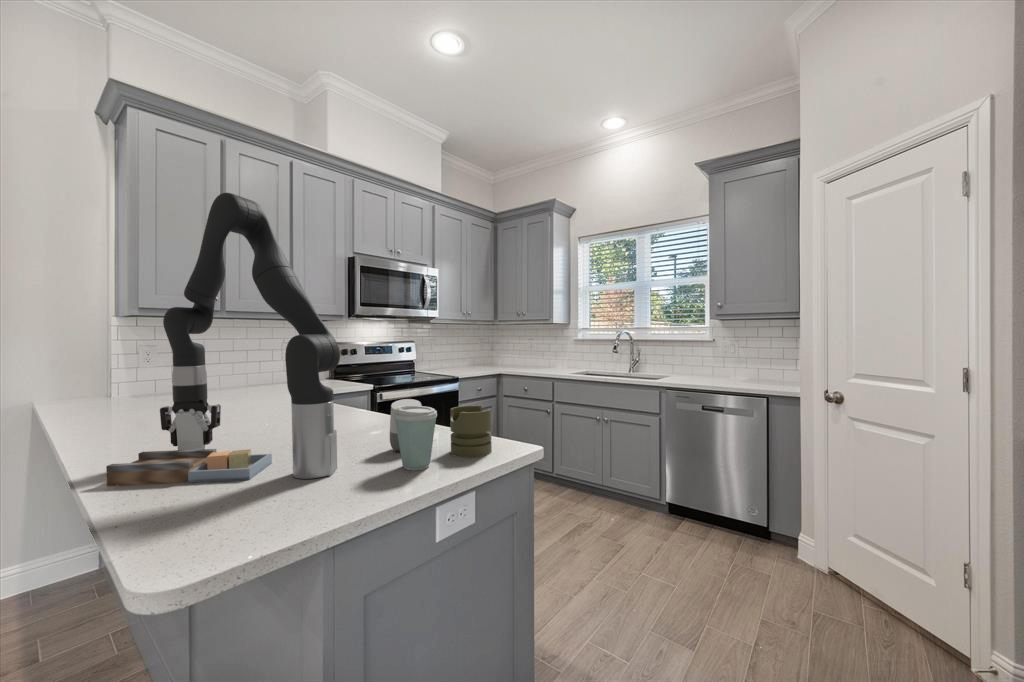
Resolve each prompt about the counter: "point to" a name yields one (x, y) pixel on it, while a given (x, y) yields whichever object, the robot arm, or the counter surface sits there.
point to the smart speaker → (393, 429)
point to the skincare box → (189, 431)
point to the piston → (470, 431)
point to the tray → (230, 471)
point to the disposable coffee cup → (415, 435)
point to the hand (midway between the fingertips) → (191, 444)
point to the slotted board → (154, 475)
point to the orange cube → (218, 460)
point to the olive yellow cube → (240, 459)
